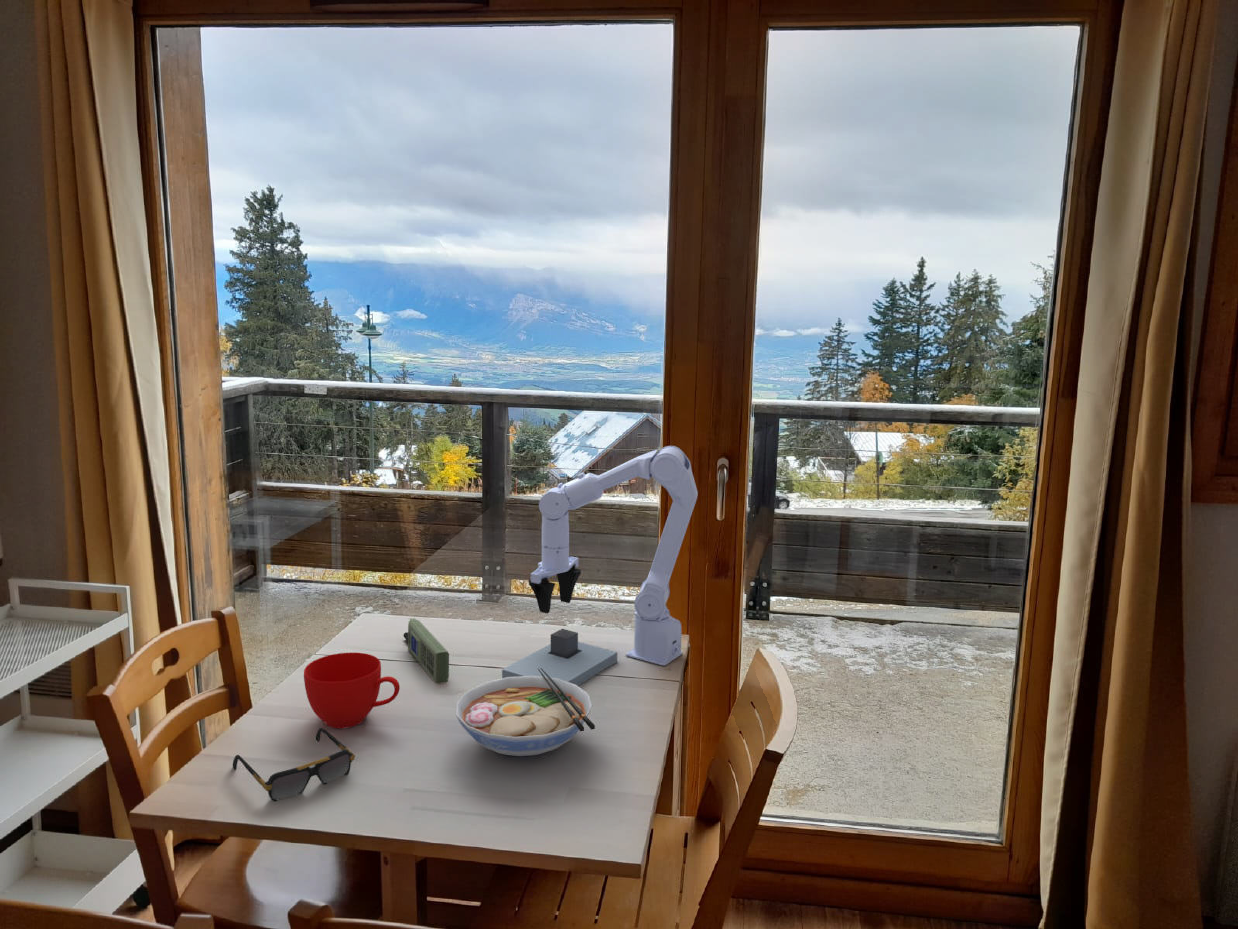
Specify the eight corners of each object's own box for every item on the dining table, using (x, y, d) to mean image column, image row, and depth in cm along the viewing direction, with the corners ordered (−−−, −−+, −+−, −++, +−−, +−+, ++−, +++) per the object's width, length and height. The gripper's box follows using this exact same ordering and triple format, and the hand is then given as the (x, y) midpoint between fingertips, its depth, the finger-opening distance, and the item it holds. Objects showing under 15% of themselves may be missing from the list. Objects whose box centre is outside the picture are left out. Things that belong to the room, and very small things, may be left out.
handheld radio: (433, 685, 173) (398, 641, 195) (450, 683, 175) (413, 639, 196) (434, 653, 172) (398, 612, 194) (450, 650, 174) (413, 610, 195)
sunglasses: (317, 742, 152) (315, 714, 151) (358, 777, 141) (357, 748, 140) (232, 770, 142) (230, 741, 141) (270, 811, 131) (268, 779, 130)
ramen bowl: (443, 722, 158) (441, 679, 156) (566, 703, 166) (566, 661, 165) (472, 796, 135) (471, 746, 134) (614, 769, 143) (615, 722, 142)
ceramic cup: (383, 744, 150) (381, 688, 148) (291, 733, 154) (288, 678, 152) (415, 709, 163) (414, 657, 161) (330, 700, 166) (327, 649, 164)
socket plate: (617, 661, 185) (617, 652, 185) (559, 696, 169) (559, 686, 168) (562, 646, 193) (562, 637, 192) (502, 679, 176) (502, 669, 176)
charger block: (577, 660, 186) (577, 632, 185) (566, 666, 182) (566, 638, 181) (562, 655, 188) (562, 628, 187) (550, 662, 185) (550, 634, 183)
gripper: (559, 534, 196) (559, 594, 199) (518, 550, 184) (519, 613, 187) (586, 539, 192) (586, 600, 195) (546, 555, 180) (546, 619, 183)
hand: (555, 607), depth 191 cm, fingers open, 7 cm apart
